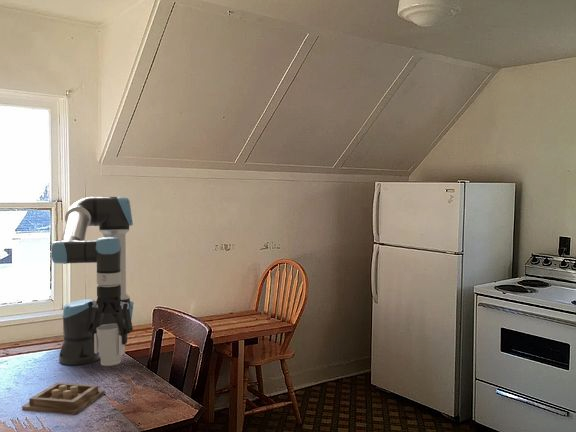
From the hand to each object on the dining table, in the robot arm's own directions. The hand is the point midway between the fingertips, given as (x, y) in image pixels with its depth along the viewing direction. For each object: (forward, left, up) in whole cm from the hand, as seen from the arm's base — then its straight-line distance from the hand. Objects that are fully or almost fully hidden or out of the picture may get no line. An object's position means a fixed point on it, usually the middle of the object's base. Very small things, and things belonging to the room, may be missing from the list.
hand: (109, 352), depth 190 cm
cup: (0, 0, -3) cm, 3 cm away
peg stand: (+7, -12, -14) cm, 20 cm away
